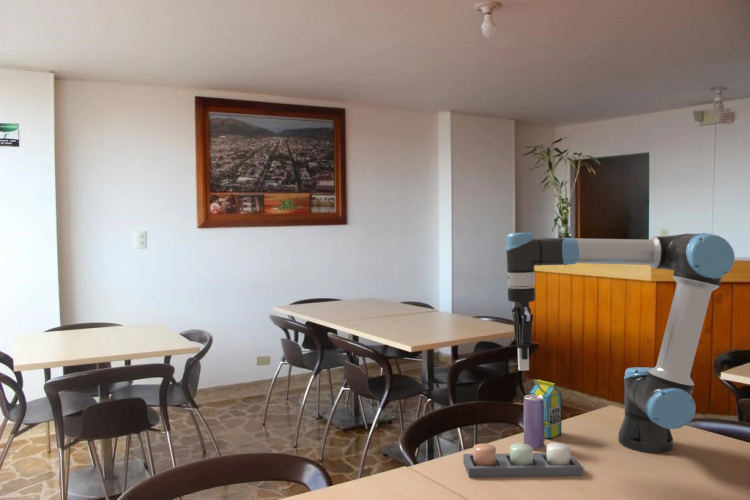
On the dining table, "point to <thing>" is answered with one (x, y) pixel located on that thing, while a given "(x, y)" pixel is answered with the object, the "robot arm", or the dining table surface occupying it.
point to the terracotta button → (484, 455)
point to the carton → (549, 407)
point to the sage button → (521, 454)
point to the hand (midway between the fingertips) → (523, 369)
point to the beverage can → (534, 421)
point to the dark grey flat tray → (522, 468)
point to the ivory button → (558, 454)
